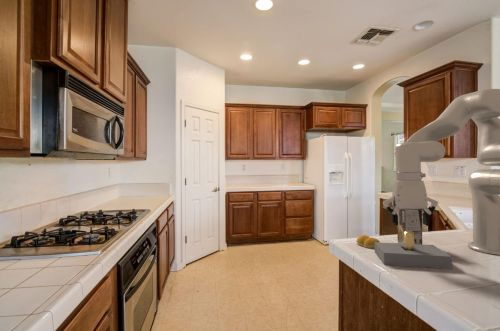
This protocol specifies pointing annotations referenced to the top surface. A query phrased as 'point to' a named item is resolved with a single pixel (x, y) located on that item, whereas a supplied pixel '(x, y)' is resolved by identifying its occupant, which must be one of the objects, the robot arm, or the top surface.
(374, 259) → the top surface
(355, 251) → the top surface
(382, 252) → the hole block
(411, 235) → the brass peg
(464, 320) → the top surface
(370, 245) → the bread roll
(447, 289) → the top surface
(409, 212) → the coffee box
